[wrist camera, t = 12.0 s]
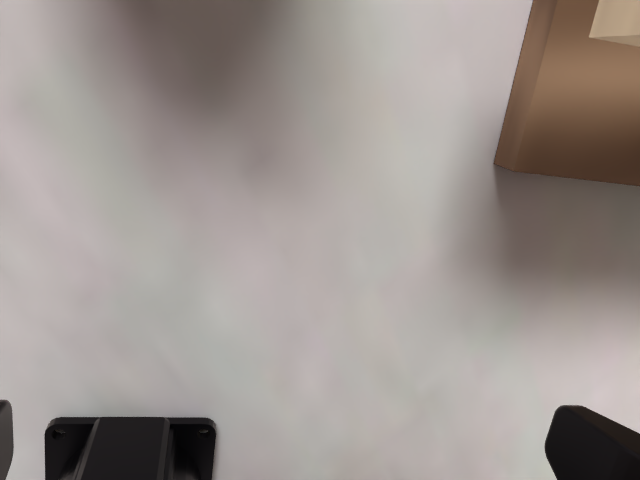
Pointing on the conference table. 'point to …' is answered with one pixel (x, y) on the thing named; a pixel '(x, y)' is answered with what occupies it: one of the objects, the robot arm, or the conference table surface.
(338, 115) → the conference table surface
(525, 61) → the balance stand
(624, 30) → the beech stick
